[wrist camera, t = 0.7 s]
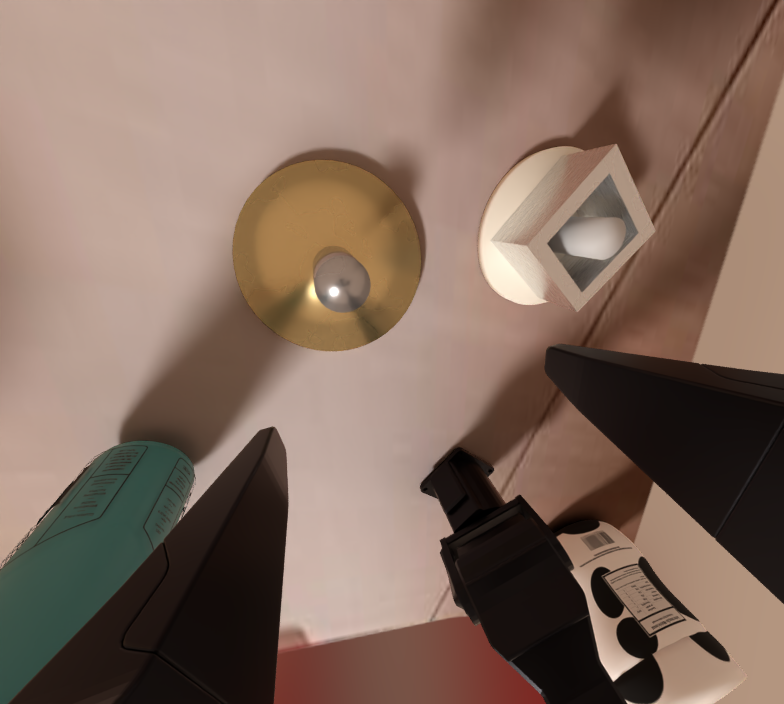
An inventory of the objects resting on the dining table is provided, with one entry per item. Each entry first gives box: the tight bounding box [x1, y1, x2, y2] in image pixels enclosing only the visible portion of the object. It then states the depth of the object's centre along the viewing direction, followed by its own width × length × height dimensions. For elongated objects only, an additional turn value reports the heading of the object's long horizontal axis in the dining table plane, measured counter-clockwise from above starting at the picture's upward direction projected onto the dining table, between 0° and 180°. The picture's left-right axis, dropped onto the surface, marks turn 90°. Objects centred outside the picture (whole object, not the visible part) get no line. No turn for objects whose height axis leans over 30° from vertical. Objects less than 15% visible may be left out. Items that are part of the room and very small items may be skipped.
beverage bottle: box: [0, 441, 196, 704], centre depth 14 cm, size 6×7×20 cm
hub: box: [233, 160, 421, 351], centre depth 17 cm, size 12×12×6 cm
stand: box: [478, 146, 626, 305], centre depth 20 cm, size 11×11×6 cm
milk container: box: [554, 520, 747, 704], centre depth 39 cm, size 17×17×18 cm
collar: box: [490, 143, 655, 312], centre depth 20 cm, size 7×7×4 cm
